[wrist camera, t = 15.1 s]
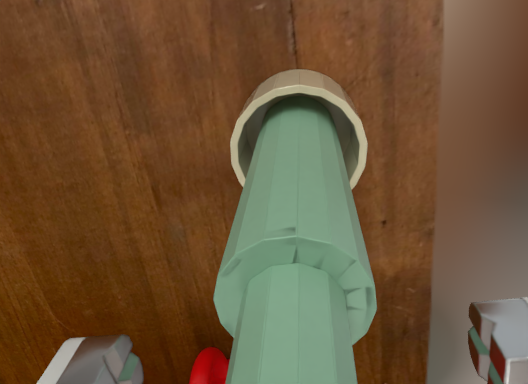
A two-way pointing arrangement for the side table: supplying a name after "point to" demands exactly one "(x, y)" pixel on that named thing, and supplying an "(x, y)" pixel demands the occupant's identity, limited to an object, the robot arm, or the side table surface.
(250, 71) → the side table surface
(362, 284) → the bottle
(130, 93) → the side table surface
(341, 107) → the holder
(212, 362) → the mug
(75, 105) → the side table surface
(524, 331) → the robot arm
